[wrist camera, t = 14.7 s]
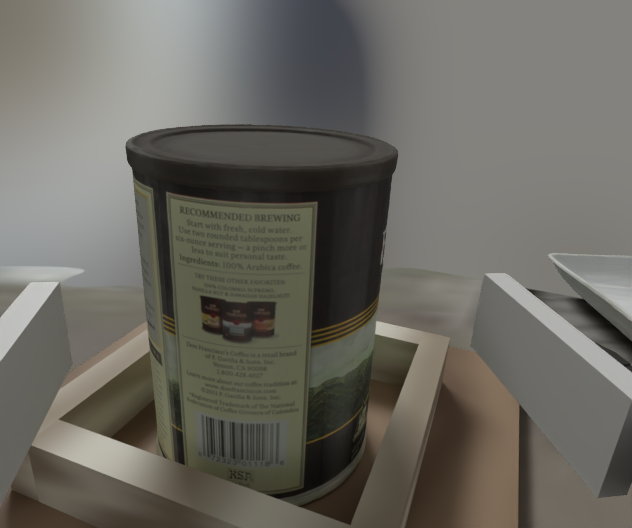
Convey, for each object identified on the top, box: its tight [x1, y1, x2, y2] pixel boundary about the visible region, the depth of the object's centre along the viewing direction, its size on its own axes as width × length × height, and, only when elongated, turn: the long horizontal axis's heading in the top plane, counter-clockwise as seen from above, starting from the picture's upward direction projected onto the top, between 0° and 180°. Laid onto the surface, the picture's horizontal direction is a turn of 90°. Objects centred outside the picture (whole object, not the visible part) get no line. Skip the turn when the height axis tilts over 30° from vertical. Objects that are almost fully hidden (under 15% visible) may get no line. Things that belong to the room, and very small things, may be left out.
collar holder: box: [0, 321, 519, 528], centre depth 25 cm, size 24×24×4 cm
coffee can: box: [126, 125, 398, 507], centre depth 22 cm, size 10×10×14 cm
